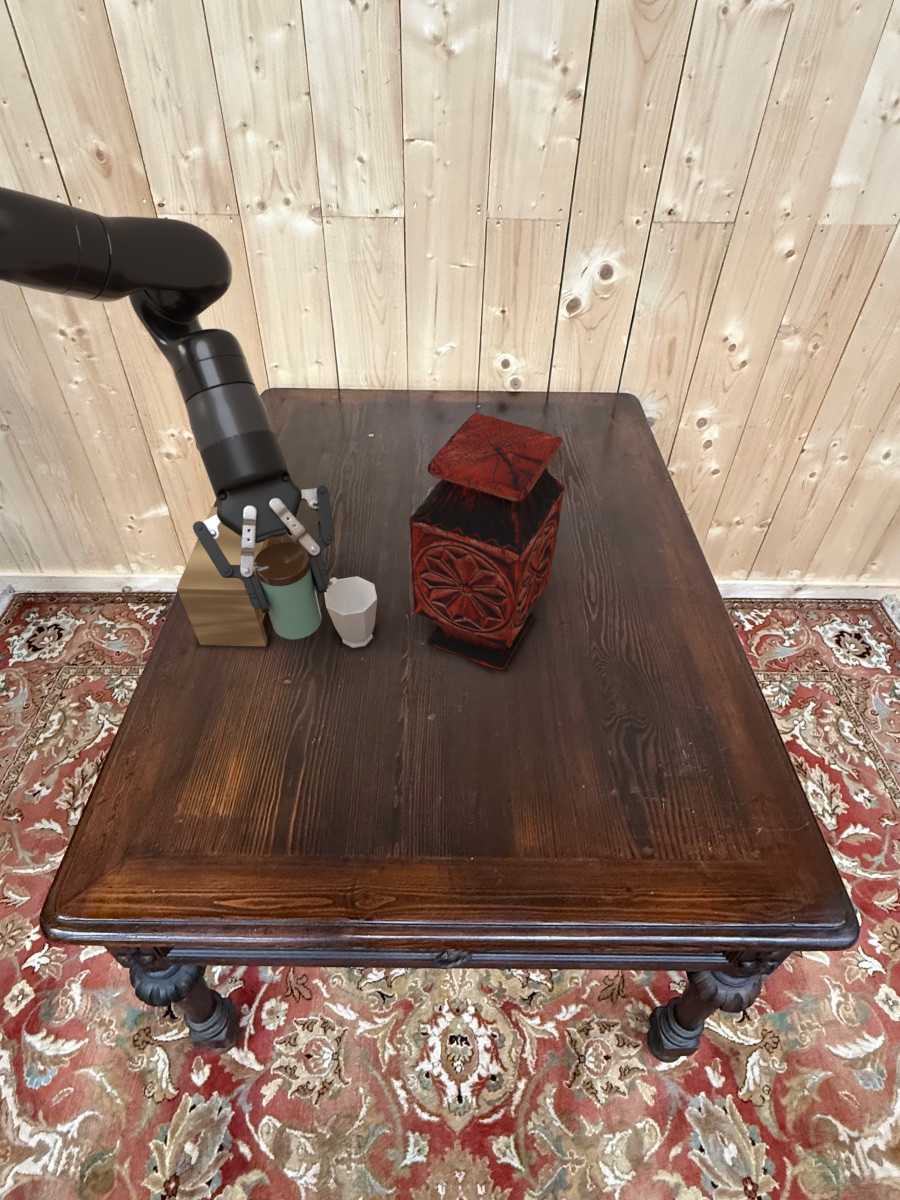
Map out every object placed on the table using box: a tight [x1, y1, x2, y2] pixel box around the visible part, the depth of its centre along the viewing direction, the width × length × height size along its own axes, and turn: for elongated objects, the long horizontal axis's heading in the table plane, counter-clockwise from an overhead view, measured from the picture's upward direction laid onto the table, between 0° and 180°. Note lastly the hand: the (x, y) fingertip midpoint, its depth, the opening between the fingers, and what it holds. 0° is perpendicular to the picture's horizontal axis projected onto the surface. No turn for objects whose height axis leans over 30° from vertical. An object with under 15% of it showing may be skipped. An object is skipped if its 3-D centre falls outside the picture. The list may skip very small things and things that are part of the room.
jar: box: [254, 541, 322, 640], centre depth 71 cm, size 5×5×9 cm
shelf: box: [176, 506, 284, 647], centre depth 95 cm, size 16×9×11 cm, turn 178°
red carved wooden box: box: [408, 412, 565, 671], centre depth 84 cm, size 14×14×30 cm
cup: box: [323, 575, 378, 649], centre depth 92 cm, size 7×10×8 cm
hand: (294, 601), depth 70 cm, fingers closed on jar, 5 cm apart
